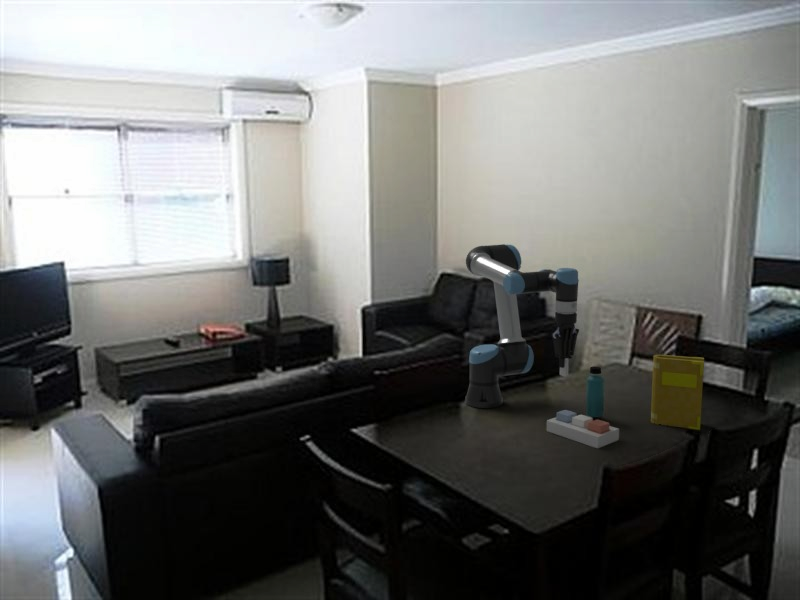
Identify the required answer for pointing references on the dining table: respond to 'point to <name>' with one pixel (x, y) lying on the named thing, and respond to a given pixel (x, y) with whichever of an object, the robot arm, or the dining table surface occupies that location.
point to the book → (677, 391)
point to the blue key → (565, 416)
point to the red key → (598, 426)
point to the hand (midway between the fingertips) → (563, 375)
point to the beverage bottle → (595, 393)
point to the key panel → (582, 433)
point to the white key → (581, 421)
